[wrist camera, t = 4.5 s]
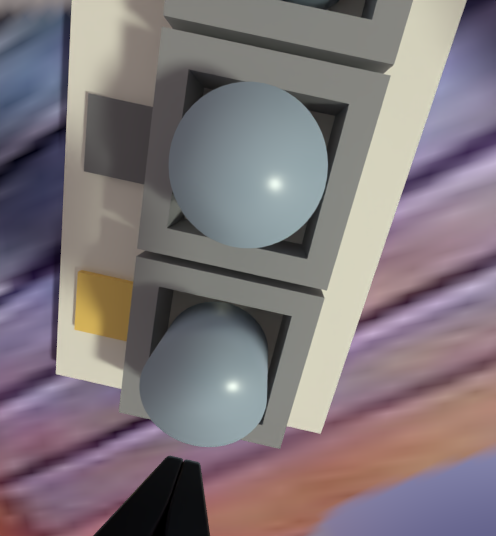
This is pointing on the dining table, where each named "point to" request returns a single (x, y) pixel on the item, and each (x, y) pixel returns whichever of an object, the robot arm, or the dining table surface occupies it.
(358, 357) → the dining table surface
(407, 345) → the dining table surface
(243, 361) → the button
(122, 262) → the board
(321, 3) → the button
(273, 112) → the button
